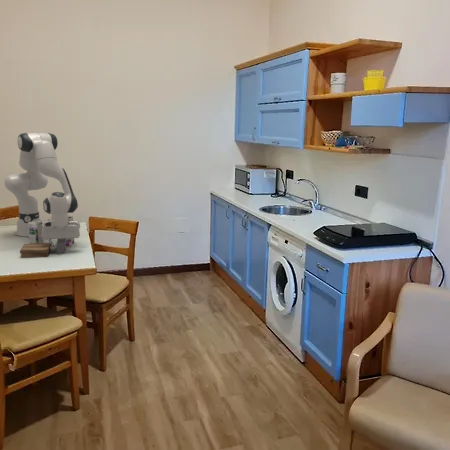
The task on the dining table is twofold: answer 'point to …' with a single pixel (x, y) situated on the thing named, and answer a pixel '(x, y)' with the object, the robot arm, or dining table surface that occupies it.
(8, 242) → the dining table surface
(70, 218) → the candy bar box
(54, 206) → the robot arm
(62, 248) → the block
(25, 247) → the wooden stand
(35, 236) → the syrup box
